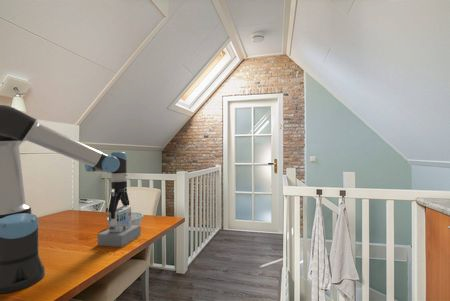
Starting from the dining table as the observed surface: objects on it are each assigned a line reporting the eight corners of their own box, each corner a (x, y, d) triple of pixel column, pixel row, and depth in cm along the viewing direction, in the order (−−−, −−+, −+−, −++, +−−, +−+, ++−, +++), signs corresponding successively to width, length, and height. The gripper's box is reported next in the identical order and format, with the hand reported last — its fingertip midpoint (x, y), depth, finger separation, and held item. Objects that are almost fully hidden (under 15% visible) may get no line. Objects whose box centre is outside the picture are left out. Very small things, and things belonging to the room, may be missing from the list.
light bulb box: (120, 233, 118) (119, 211, 118) (108, 232, 119) (107, 211, 120) (131, 226, 129) (131, 206, 129) (120, 226, 130) (120, 206, 130)
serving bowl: (127, 234, 133) (127, 222, 133) (99, 231, 139) (98, 219, 140) (150, 223, 152) (150, 212, 152) (124, 221, 159) (124, 211, 159)
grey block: (122, 247, 115) (122, 235, 115) (97, 246, 118) (97, 234, 118) (140, 236, 130) (140, 225, 130) (118, 234, 133) (118, 224, 133)
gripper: (115, 183, 112) (116, 228, 112) (134, 178, 137) (135, 214, 137) (99, 184, 112) (100, 228, 112) (122, 178, 137) (122, 214, 136)
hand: (119, 221), depth 124 cm, fingers open, 13 cm apart
